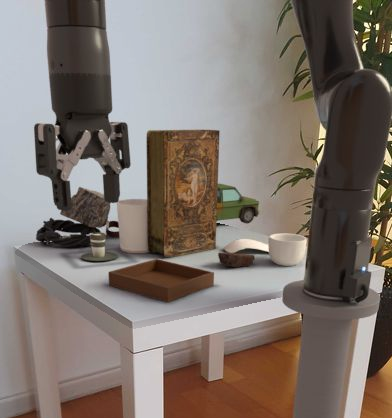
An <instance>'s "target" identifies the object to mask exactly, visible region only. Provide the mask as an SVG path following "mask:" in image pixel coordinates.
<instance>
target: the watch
mask: <svg viewBox="0 0 392 418" xmlns="http://www.w3.org/2000/svg"><path fill="white" fill-rule="evenodd" d="M110 228H117V229H119V225H118V220H110V221H109V220H108V221H107V223H106V225H105V235H106V236H107V237H109V238H112V239H113V238H114V239H115V238H116V239H117V238H120V237H119V230H117V231H112V230H109V229H110Z"/></svg>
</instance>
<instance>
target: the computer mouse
mask: <svg viewBox="0 0 392 418" xmlns="http://www.w3.org/2000/svg"><path fill="white" fill-rule="evenodd" d="M245 249H255V250H259V251H263V252H268V253H269V247H268V243H264V242H261V241H258V240H255V239H250V238H238V239H235V240H233V241H230V242H229V243H228V244H227V245H225V246H224V249H223V250H224V251H225V252H226V253H233V254H235V253H237V252H239V251H241V250H245Z"/></svg>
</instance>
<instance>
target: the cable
mask: <svg viewBox="0 0 392 418" xmlns="http://www.w3.org/2000/svg"><path fill="white" fill-rule="evenodd" d="M60 232H62V233H68V234H69V235H61V233H60ZM95 232H101V230H100V228H97V227H96V228H93V227H89V226H87V225H85V224H82V223H80V222H75V221H74V220H71V219H67V220H65V219H54V218H52V217H50V218H49V220H43V225H42V226H41V227H40V228H39V229H38V230H37V231H36V234H35V240H36V241H38V242H40V243H41V244H44V243H45V244H46V245H49V244H50V243H52V244H54V245H55V246H59V247H62V248H72V247H78V248H84V247H88V246H91V243H90V241H91V240H90V233H95ZM101 233H102V232H101Z"/></svg>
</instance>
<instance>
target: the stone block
mask: <svg viewBox="0 0 392 418" xmlns="http://www.w3.org/2000/svg"><path fill="white" fill-rule="evenodd" d="M71 203H72V209H71V210H68V211H63V210H60V212H59V215H61V216H62V217H66V218H67V219H69V220H72V221H74V222H76V223H81V224H85V225H87V226H89V227H93V228H98V229H100V228H101V229H102V228H103V227H106V223H107V222H108V221H109V216H110V215H109V214H110V210H111V203H109V202H106V201H105V200H104V193H101V192H99V191H96V190H92V189H88V188H84V187H82V186H79V187H78V189H77V191H76V193H75V194H73V195H71Z"/></svg>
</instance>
